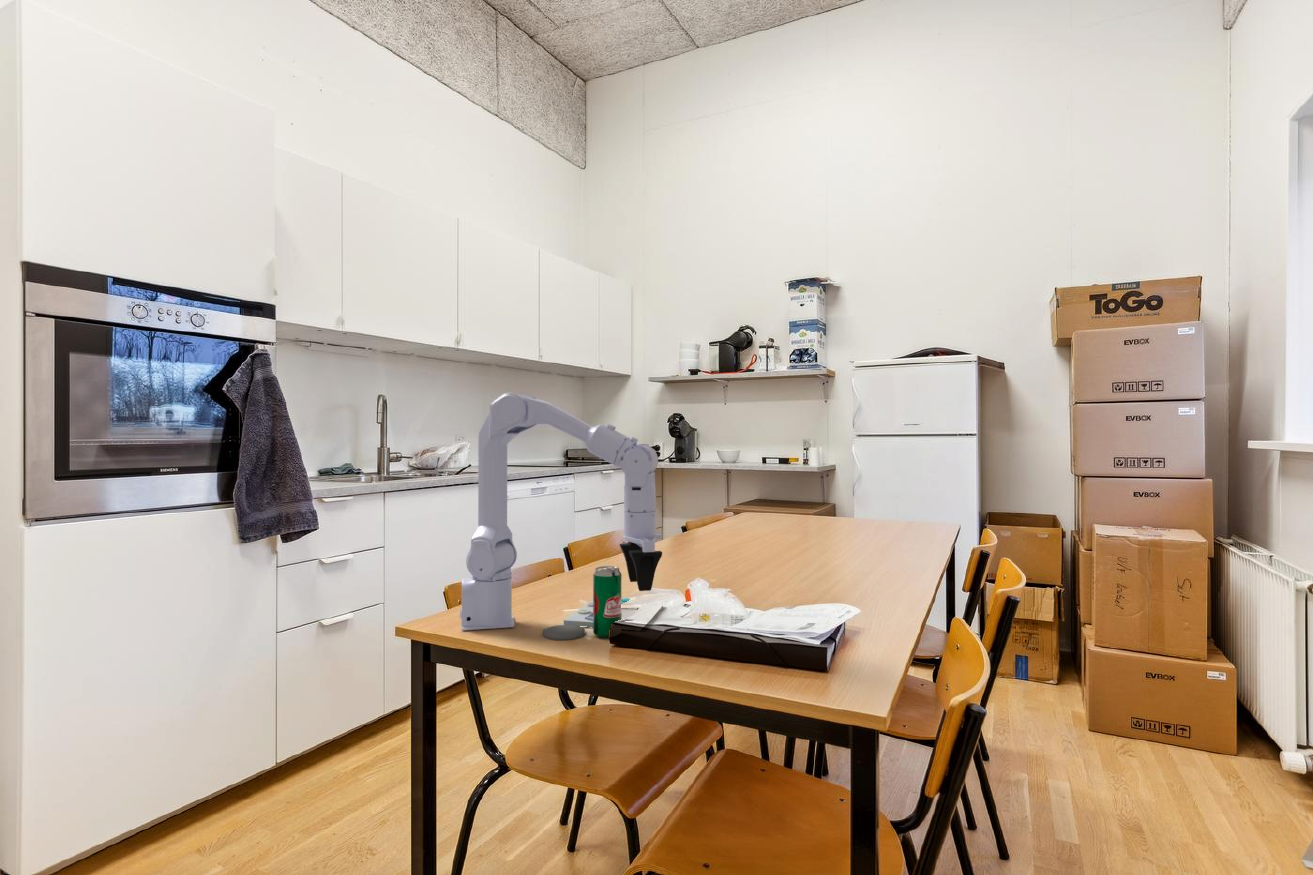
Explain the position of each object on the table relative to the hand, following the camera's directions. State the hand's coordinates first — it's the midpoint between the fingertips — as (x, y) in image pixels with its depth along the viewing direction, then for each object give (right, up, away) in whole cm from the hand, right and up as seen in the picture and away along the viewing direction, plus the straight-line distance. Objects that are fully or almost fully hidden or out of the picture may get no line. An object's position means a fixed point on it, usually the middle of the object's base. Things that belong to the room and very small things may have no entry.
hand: (640, 585), depth 124 cm
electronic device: (-5, -10, +12) cm, 16 cm away
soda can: (-6, -9, -1) cm, 11 cm away
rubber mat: (-14, -9, -1) cm, 16 cm away
